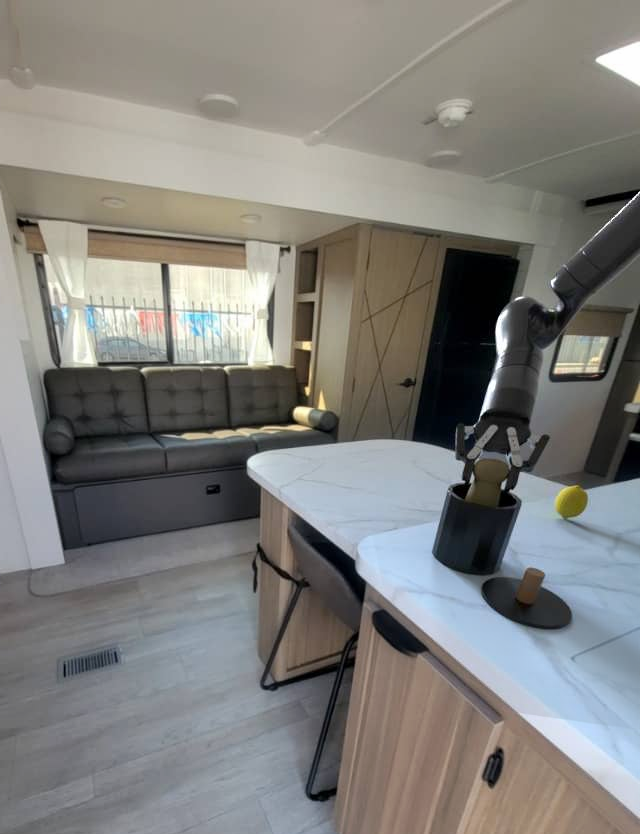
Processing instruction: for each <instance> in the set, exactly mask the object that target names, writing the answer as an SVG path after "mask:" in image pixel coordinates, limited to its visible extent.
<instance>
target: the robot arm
mask: <svg viewBox="0 0 640 834" xmlns="http://www.w3.org/2000/svg"><path fill="white" fill-rule="evenodd" d="M639 257H640V191H639V192H638V193H637V194H636V195H635V196H634V197H633V198H632V199H631V200H630V201H629V202H627V204H626V205H625V206H624V207H623V208H621V210H620V211H619V212H618V213H617V214H616V215H614V216H613V218H611V219H610V220H609V221H608V222H607V223H606V224H605V225H604V226H603V227H601V228H600V229H599V231H598V232H596V234H595V235H593V236H592V237H591V238H590V239H589V240H588V241H587V242H586V243H585V244H584V245H583V246H582V247H581V248H579V250H578V251H576V253H575V254H573V255H572V256H571V257H570V258H569V259H568V260H567V261H566V262H565V263H564V264H563V265H562V266H561V267H559V269H557V271H556V272H555V273H554V274H553V276H551V278H550V281H549V285H550V288H551V291H552V292H553V293H554V294H555V296H556V297H557V298H558V301H557V303H556V305H555V306H554V307H553V308H552V309H550V308H549V307H547V306H546V305H545V304H543V303H542V302H540V301H538V300H537V299H535V298H534V297H531V296H529V295H524V296H519V297H516V298H514V299H512V300H511V301H510V302H508V303H507V304H506V305H505V306H504V308H503V309H502V310H501V312H500V314H499V316H498V318H497V320H496V322H495V329H494V336H495V337H494V339H495V353H496V362H495V366H494V369H493V373H492V377H491V379H490V381H489V383H488V386H487V389H486V392H485V395H484V399H483V404H482V407H481V411H480V414H479V417H478V421H477V422H476V423H474V425H465V424H464V423H462V422H460V423H458V424H456V430H455V443H454V444H455V445H454V446H455V449H454V451H455V452H454V454H455V455H454V458H455V460H456V461H459V462H462V463H463V464H464V465H463V470H462V473H461V477H460V479H461V481H463V482H464V483H465V484H466V485H469V483H471V479H472V476H473V468H474V465H475V463H476V462H477V461H478V460H479V458H480V457H481V456H483V454H484V453H497V454H499V455H505V458H506V462H507V463H508V466H509V475H508V477H507V479H506V480H505V484H504V488H503V489H504V492H507V493H509V492H510V491H514V490H515V489H516V487H517V485H518V483H519V478H520V474H521V473H523V472H524V473H531V472H533V470H534V468H535V467H536V465H537V463H538V461H539V460H540V457H541V456H542V454H543V452H544V450H545V448H546V447H547V445H548V443H549V441H550V439H551V437H550V435H549V434H542V435H541V436H540V435H537V434H534V433H532V430H531V428H530V426H531V425H530V424H531V420H532V418H533V417H532V416H533V413H534V408H535V403H536V399H537V396H538V391H539V379H540V375H541V372H542V367H543V363H544V352H543V350H545V349H547V348H548V347H550V346H551V345H553V344H554V343H555V342H556V341H557V340H558V339H559V338H560V336H561V335H562V333H563V332H564V331H565V329H566V328H567V327H568V326H569V324H570V323H571V322H572V321H573V319H574V318H575V317H576V316H577V314H578V313H579V312H580V311H581V310H582V308H583V307H584V306H585V305H586V304H587V303H588V302H589V300H591V298H592V297H594V296H595V295H596V294H597V293H598V292H599V293H600V291H601V290H602V289H603V288H604V287H606V286H607V285H608V284H609V283H611V282H612V281H613V280H614V279H615V278H616V277H618V276H619V275H620V274H621V273H623V272H624V270H626V269H627V268H628V267H629V266H630V265H631V264H633V262H634V261H636V260H637V258H639ZM471 434H473V436H474V438H475V440H476V443H475V444H474V446H473V448H472V449H471V450H470V451H467V450H466V449H465V448H466V447H465V446H466V442H465V441H466V440H468V439H469V438H470V435H471ZM528 442H529V448H530V449H531V450H532V453H531V454H530V456H529V457H528V459H526V460H523V459H522V455H521V447H522V446H523V445H524V444H525V443H528Z"/></svg>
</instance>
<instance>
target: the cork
mask: <svg viewBox="0 0 640 834" xmlns="http://www.w3.org/2000/svg"><path fill="white" fill-rule="evenodd" d="M509 470H510V466H509V463H508V464H507V463H506V461H503V460H500V459H496V458H490V457H489V458H488V457H487V458H481V459H477V460H476V461H475V464H474V468H473V472H472V476H473V479H472V482H471V483H472V484H471V487H470V489H469V491H468V493H467V496H466V498H465V500H466V501H469V502H472V503H475V504H480V505H484V506H490V507H498V506H499V499H500V492H501V489H502V485H503V483H504V482H506V480H507V477H508V475H509Z"/></svg>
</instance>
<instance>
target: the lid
mask: <svg viewBox="0 0 640 834" xmlns="http://www.w3.org/2000/svg"><path fill="white" fill-rule="evenodd" d="M545 577H546V573H545V572H544V571H543V570H541V569H539V568H536V567H527V568H526V569H525V571H524V574H523V577H522V579H520V578H517V577H508V576H497V577H496V576H495V577H492V578H488V579H486V580H485V581H484V582H483V583H482V585H481V589H480V593H481V596H482V599H483V600H484V601H485V603H486V604H487V605H488V606H489V607H490V608H492V609H493V610H494V611H495V612H496V613H498V614H499V615H501V616H503V617H505V618H507V619H509V620H511V621H513V622H516V623H518V624H520V625H524V626H527V627H531V628H536V629H542V630H558V629H562V628H565V627H566V626H567V625H569V624H570V622H571V620H572V617H573V613H572V610H571V607H570V606H569V605H568V603H567V602H566V601H565V600H564V599H562V598H561V597H560V596H558V595H557V594H556V593H554V592H553V591H551V590H549V589H547V588H546V587H544V586H542V584H543V582H544V580H545Z"/></svg>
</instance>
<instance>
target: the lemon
mask: <svg viewBox="0 0 640 834" xmlns="http://www.w3.org/2000/svg"><path fill="white" fill-rule="evenodd" d="M588 502H589V497H588V494H587V492H586V490H585V489H583V488H582V487H581V486H580V485H577V484H576V485H572V486H571V485H570V486H567V487H564V488H563V489H562V490H561V491H560V492H558V494H557V496H556V498H555V500H554V509H555V512H556V513H557V514H558V515H559V516H561V518H562V519H563V520H568V519H571V518H577V517H578V516H580V515H582V514H583V512H584V511H585V510H586V508H587V506H588Z"/></svg>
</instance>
